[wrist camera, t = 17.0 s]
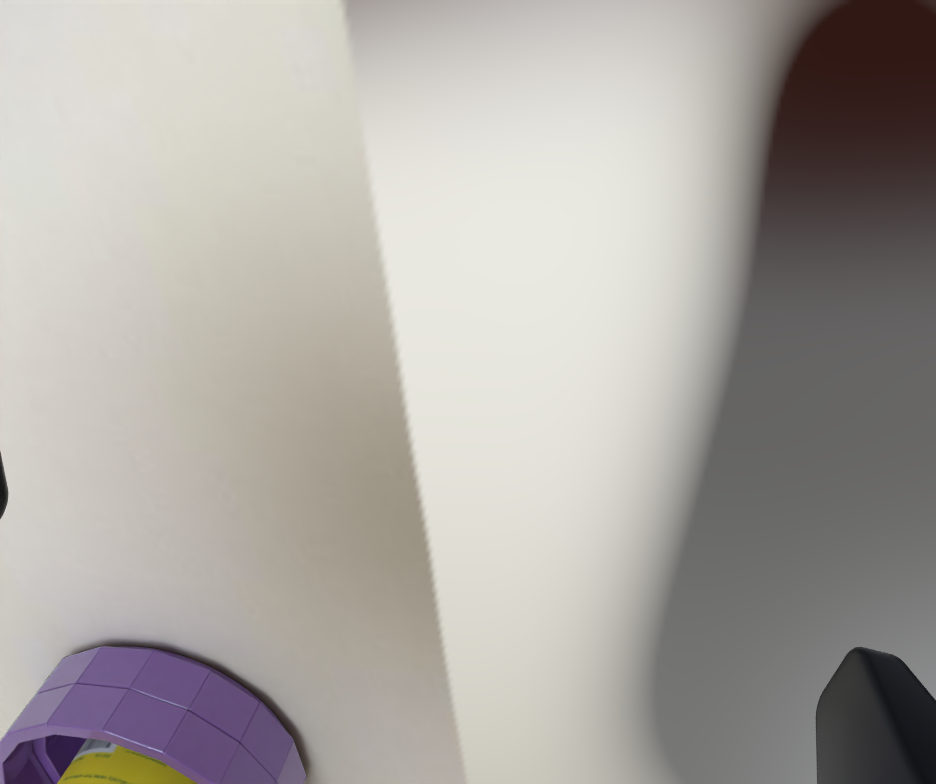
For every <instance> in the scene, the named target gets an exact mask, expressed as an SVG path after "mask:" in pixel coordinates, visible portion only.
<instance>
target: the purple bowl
mask: <svg viewBox="0 0 936 784" xmlns="http://www.w3.org/2000/svg"><path fill="white" fill-rule="evenodd" d="M87 738H88V739H96V740H104V741H107V742H110V743H113V744H116V745H118V746H121V747H124V748H127V749H129V750H132V751H135V752H138V753H140V754H143V755H146V756H149V757H151V758H154V759H157V760H160V761H161V762H163V763H165V764H166V765H168V766H170V767H171V768H173V769H174V770H176V771H178V772H179V773H181V774H183V775H184V776H186V777H187V778H189V779H191V780H192V781H194V782H196V783H197V784H305V781H306V773H305V770H304V767H303V764H302V762H301V759H300V756H299V753H298V751H297V748H296V745H295V742H294V741H293V738H292V737H291V736H290V735H289V734H288V732H287V731H286V730H285V728H284V726H283V725H282V723H281V722H280V721H279V720H278V718H277V717H276V716H275V715H274V713H273V712H272V711H271V710H270V709H269V708H268V707H267V706H266V705H265V704H264V703H263V702H262V701H261V700H260V699H258V698H257V697H256V696H255V695H254V694H252V693H251V692H250V691H249V690H247V689H246V688H244V687H243V686H242V685H240V684H239V683H237V682H236V681H234V680H233V679H231V678H229V677H228V676H226V675H224V674H223V673H221V672H219V671H217V670H215V669H213V668H211V667H209V666H207V665H205V664H202V663H200V662H197V661H195V660H193V659H190V658H187V657H184V656H181V655H178V654H175V653H171V652H167V651H163V650H158V649H152V648H145V647H131V646H123V647H108V646H104V647H103V646H101V647H97V648H94V649H90V650H87V651H84V652H80V653H77V654H73V655H70V656H66V657H64V658H63V659H62V660H61V662H60V663H59V664H58V665H57V667H56V668H55V669H54V670H53V672H52V673H51V674H50V675H49V677H48V678H47V679H46V681H45V682H44V683H43V684H42V686H41V687H40V688H39V690H38V691H37V692H36V694H35V695H34V696H33V698H32V699H31V700H30V701H29V703H28V704H27V705H26V707H25V708H24V709H23V711H22V712H21V713H20V715H19V716H18V717H17V719H16V720H15V721H14V722H13V724H12V725H11V726H10V728H9V729H8V730H7V732H6V733H5V734H4V736H3V737H2V738H1V739H0V784H57V783H58V781H59V780H60V779H61V777H62V776H63V774H64V772H65V771H66V770H67V768H68V767H69V765H70V764H71V762H72V761H73V759H74V758H75V756H76V755H77V753H78V752H79V750H80V749H81V747H82V745H83V744H84V743H85V741H86V740H87Z"/></svg>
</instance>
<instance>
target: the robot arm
mask: <svg viewBox="0 0 936 784" xmlns="http://www.w3.org/2000/svg"><path fill="white" fill-rule="evenodd" d="M7 502H8V487H7V482H6V477H5V472H4V467H3V462H2V457H1V452H0V519H1V517H2V515H3V513H4V511H5V509H6V506H7ZM816 745H817V746H816V747H817V748H816V749H817V784H936V700H935V699H934V698H933V697H932V696H931V694H930V693H929V692H928V691H927V689H926V688H925V687H924V686H923V685H922V683H921V682H920V681H919V680H918V679H917V677H916V676H915V675H914V674H913V673H912V671H911V670H910V669H909V668H908V667H907V665H906V664H905V663H904V662H903V661H902V660H901V659H899V658H898V657H896V656H894V655H892V654H888V653H884V652H880V651H876V650H872V649H868V648H863V647H856V648H854V649H852V650H851V651H849V653H848V654H847V655H846V657H845V658H844V660H843V661H842V663H841V664H840V666H839V668H838V669H837V671H836V672H835V674H834V675H833V677H832V678H831V680H830V681H829V683H828V684H827V686H826V688H825V689H824V691H823V692H822V694H821V696H820V699H819V702H818V706H817V711H816Z"/></svg>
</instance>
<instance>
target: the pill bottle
mask: <svg viewBox="0 0 936 784" xmlns="http://www.w3.org/2000/svg"><path fill="white" fill-rule="evenodd" d="M57 784H197V783H196V782H194V781H192V780H191V779H189V778H187V777H186V776H184V775H183V774H181V773H179V772H178V771H176V770H174V769H173V768H171V767H170V766H168V765H166V764H165V763H163V762H161V761H160V760H157V759H154V758H151V757H149V756H146V755H143V754H140V753H138V752H135V751H132V750H129V749H127V748H124V747H121V746H118V745H116V744H113V743H110V742H107V741H104V740H96V739H88V738H87V740H86V741H85V743H84V744H83V745H82V747H81V749H80V750H79V752H78V753H77V755H76V756H75V758H74V759H73V761H72V762H71V764H70V765H69V767H68V768H67V770H66V771H65V772H64V774H63V776H62V777H61V779H60V780H59V781H58V783H57Z"/></svg>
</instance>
